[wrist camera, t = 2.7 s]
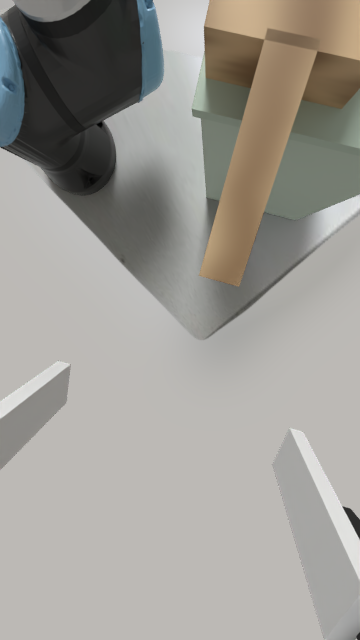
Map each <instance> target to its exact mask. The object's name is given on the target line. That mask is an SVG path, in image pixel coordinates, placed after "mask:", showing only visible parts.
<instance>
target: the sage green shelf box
mask: <svg viewBox="0 0 360 640" xmlns="http://www.w3.org/2000/svg"><path fill="white" fill-rule="evenodd" d="M250 90H251V88H248V87H243V86H239V85H234V84H230V83H226V82H221V81H217V80H213V79H208V78H206V76H205V51H204V56H203V60H202V65H201V69H200V74H199V78H198V83H197V87H196V92H195V96H194V101H193V105H192V114H193V116H194V117H198V118H201V125H202V140H203V154H204V169H205V183H206V198H210V199H214V200H218V201H220V198H221V194H222V191H223V187H224V184H225V180H226V176H227V173H228V169H229V166H230V162H231V158H232V155H233V151H234V148H235V144H236V140H237V137H238V133H239V130H240V126H241V122H242V119H243V115H244V112H245V108H246V104H247V101H248V97H249V93H250ZM359 194H360V89H359V90H358V91H357V92H356V93H355V95H354V96H353V97H352V98H351V99H350V100H349V101H348V102H347V103H346V105H345V106H344V107H343V108H342V109H339V108H335V107H330V106H326V105H322V104H317V103H313V102H309V101H304V100H301V102H300V105H299V108H298V111H297V114H296V117H295V120H294V123H293V126H292V129H291V132H290V135H289V138H288V141H287V144H286V147H285V150H284V153H283V156H282V159H281V162H280V165H279V168H278V171H277V174H276V177H275V180H274V183H273V186H272V189H271V192H270V195H269V198H268V201H267V204H266V207H265V210H264V212H265V213H269V214H273V215H276V216H280V217H284V218H288V219H292V220H298V219H301V218H303V217H306V216H308V215H310V214H313V213H315V212H318V211H320V210H323V209H325V208H328V207H330V206H332V205H335V204H337V203H340V202H342V201H345V200H347V199H349V198H352V197H354V196H357V195H359Z"/></svg>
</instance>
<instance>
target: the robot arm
mask: <svg viewBox="0 0 360 640" xmlns="http://www.w3.org/2000/svg"><path fill="white" fill-rule="evenodd" d="M13 2H14V3H15V6H13V7H12V8H10V9H9V10H8V11H6V12H5V13H4V14H2V15H1V16H0V147H1V148H3V149H5V150H7V151H9V152H11V153H13V154H15V155H17V156H19V157H21V158H23V159H25V160H27V161H29V162H31V163H33V164H35V165H37V166H39V167H41V169H42V170H43V171H44V172H45V173H46V174H47V176H48V177H49V178H50V179H51V180H52V181H53V182H54V183H55V184H56V185H57V186H59V187H60V188H62V189H64V190H66V191H68V192H71V193H73V194H77V195H88V194H92V193H94V192H96V191H98V190H100V189H101V188H102V187H103V186H104V185H105V184H106V183H107V181H108V180H109V178H110V177H111V174H112V172H113V169H114V165H115V157H116V153H115V144H114V140H113V137H112V134H111V132H110V130H109V128H108V127H107V125H106V124H105V122H104V121H103V120H105V119H107V118H109V117H111V116H112V115H114V114H116V113H118V112H120V111H122V110H124V109H125V108H127V107H129V106H131V105H133V104H135V103H139V102H140V101H142V99H143V98H144V97H145V96H147V95H148V94H150V93H151V92H153V91H154V90H156V89H157V88H158V87H159V86H160V84H161V82H162V80H163V76H164V58H163V49H162V42H161V36H160V30H159V24H158V19H157V14H156V9H155V6H154V3H153V0H13ZM70 366H71V364H68V363H65V362H61V361H58V362H56V363H55V364H54V365H52V366H50V367H49V368H48V369H46V370H45V371H43V372H42V373H40V374H39V375H38V376H36V377H35V378H33V379H32V380H30V381H29V382H27V383H26V384H24V385H23V386H22V387H20V388H19V389H17V390H16V391H14V392H13V393H11V394H10V395H9V396H7V397H6V398H4V399H3V400H1V401H0V470H1V469H2V468H3V467H4V466H5V465H6V464H7V462H8V461H9V460H11V458H13V456H14V455H15V454H16V453H17V452H18V451H19V450H20V449H21V448H22V447H23V446H24V445H25V444H26V443H27V442H28V441H29V440H30V439H31V438H32V437H33V436H34V435H35V434H36V433H37V432H38V431H39V430H40V429H41V428H42V427H43V426H44V425H45V424H46V423H47V422H48V421H49V420H50V419H51V418H52V417H53V416H54V415H55V414H56V413H57V411H58V410H60V409H61V407H63V406H64V404H65V403H66V401H67V392H68V383H69V375H70ZM273 469H274V472H275V475H276V479H277V482H278V485H279V489H280V492H281V496H282V499H283V502H284V506H285V509H286V512H287V516H288V519H289V523H290V526H291V529H292V533H293V536H294V540H295V543H296V546H297V550H298V553H299V556H300V560H301V563H302V567H303V570H304V573H305V577H306V580H307V583H308V587H309V590H310V594H311V597H312V600H313V603H314V607H315V610H316V614H317V617H318V621H319V624H320V627H321V631H322V634H323V638H324V640H355V639H356V638H357V639H358V640H360V519H359V518H358V517H357V516H356V515H355V513H354V512H353V511H352V510H351V509H349V508H346V507H343V506H342V505H341V503H340V501H339V499H338V498H337V496H336V494H335V492H334V490H333V488H332V486H331V484H330V483H329V480H328V479H327V477H326V475H325V473H324V471H323V469H322V467H321V465H320V463H319V461H318V460H317V458H316V456H315V454H314V452H313V450H312V448H311V446H310V444H309V442H308V440H307V439H306V437H305V435H304V433H303V432H302V431H298V430H295V429H292V428H289V430H288V432H287V434H286V436H285V438H284V440H283V443H282V445H281V447H280V449H279V451H278V454H277V456H276V458H275V460H274V462H273Z"/></svg>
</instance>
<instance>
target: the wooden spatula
mask: <svg viewBox="0 0 360 640" xmlns="http://www.w3.org/2000/svg"><path fill="white" fill-rule="evenodd" d="M204 38H205V39H204V40H205V76H206V78H208V79H213V80H217V81H221V82H226V83H230V84H234V85H239V86H243V87H248V88H251V90H250V93H249V97H248V101H247V104H246V108H245V112H244V115H243V119H242V122H241V126H240V130H239V133H238V137H237V140H236V144H235V148H234V151H233V155H232V158H231V162H230V166H229V169H228V173H227V176H226V180H225V184H224V187H223V191H222V194H221V198H220V202H219V205H218V209H217V212H216V216H215V220H214V223H213V227H212V230H211V234H210V238H209V241H208V245H207V248H206V252H205V256H204V259H203V263H202V266H201V270H200V274H199V276H202V277H206V278H209V279H213V280H216V281H220V282H224V283H227V284H231V285H235V286H238V287H239V285H240V282H241V279H242V276H243V273H244V270H245V267H246V264H247V261H248V258H249V255H250V252H251V249H252V246H253V243H254V240H255V237H256V234H257V231H258V228H259V225H260V222H261V219H262V216H263V213H264V210H265V207H266V204H267V201H268V198H269V195H270V192H271V189H272V186H273V183H274V180H275V177H276V174H277V171H278V168H279V165H280V162H281V159H282V156H283V153H284V150H285V147H286V144H287V141H288V138H289V135H290V132H291V129H292V126H293V123H294V120H295V117H296V114H297V111H298V108H299V105H300V102H301V100H304V101H309V102H313V103H317V104H322V105H326V106H330V107H335V108H339V109H342V108H343V107H344V106H345V105H346V103H347V102H348V101H349V100H350V99H351V98H352V97H353V96H354V95H355V93H356V92H357V91H358V90H359V89H360V0H210V2H209V6H208V11H207V15H206V20H205V25H204Z"/></svg>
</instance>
